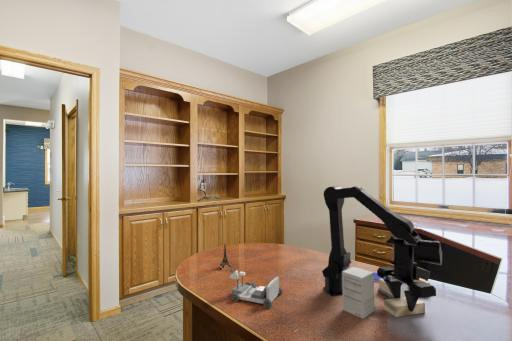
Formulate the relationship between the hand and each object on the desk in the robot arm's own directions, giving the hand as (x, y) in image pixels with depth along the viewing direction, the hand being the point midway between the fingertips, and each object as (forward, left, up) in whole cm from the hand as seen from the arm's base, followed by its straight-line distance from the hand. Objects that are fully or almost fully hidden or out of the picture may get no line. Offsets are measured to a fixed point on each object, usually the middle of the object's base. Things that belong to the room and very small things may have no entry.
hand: (404, 307), depth 86 cm
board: (0, 0, -1) cm, 1 cm away
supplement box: (-14, +4, -2) cm, 15 cm away
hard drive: (+13, +23, -2) cm, 26 cm away
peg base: (+10, +11, -1) cm, 15 cm away
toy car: (-44, +23, -2) cm, 50 cm away
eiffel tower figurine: (-50, +57, -2) cm, 76 cm away
